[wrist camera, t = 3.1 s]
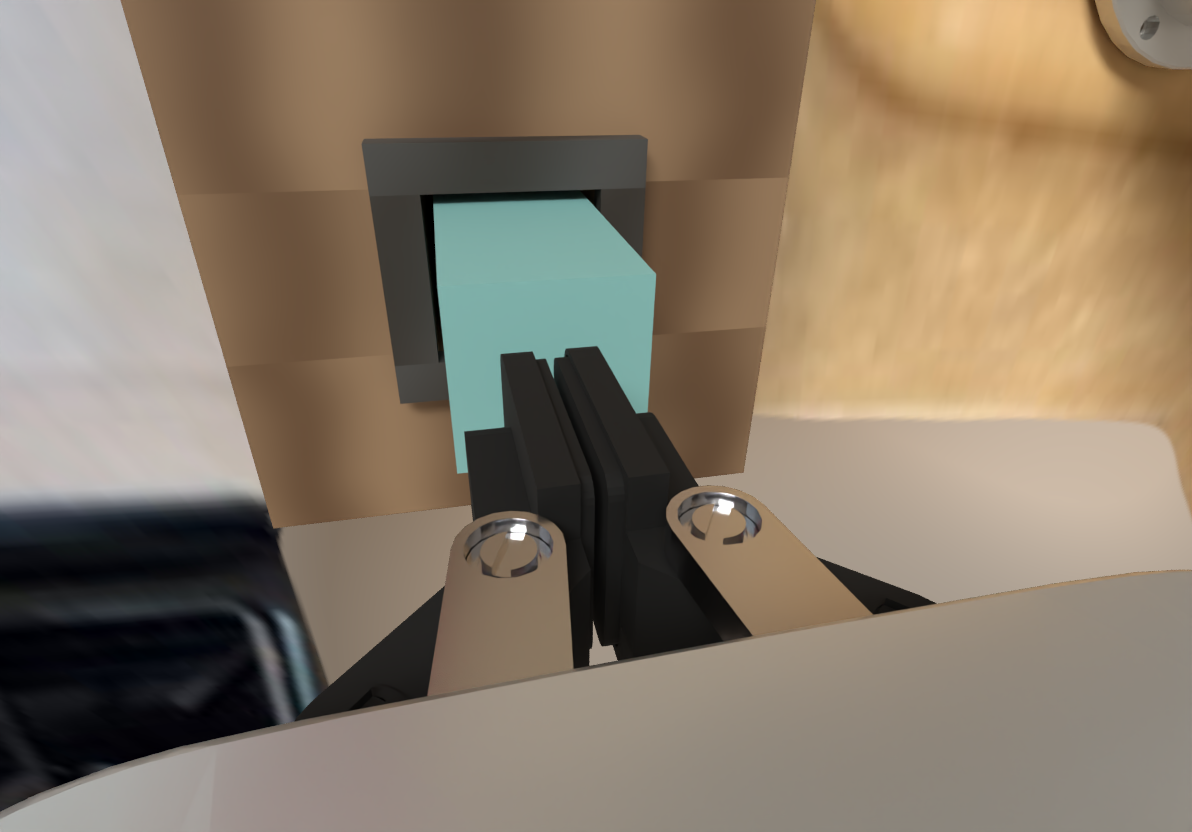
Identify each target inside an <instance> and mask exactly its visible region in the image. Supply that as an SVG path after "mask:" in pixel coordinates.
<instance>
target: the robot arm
mask: <svg viewBox="0 0 1192 832" xmlns="http://www.w3.org/2000/svg"><path fill="white" fill-rule="evenodd" d="M1095 3H1096V6H1097V10H1098V13H1099V17H1100V21H1101V23H1102V25H1103V26H1104V28H1105V30H1106V32H1107V33H1108V35H1109V37H1110V39H1111V41H1112V42H1113V43H1114V44H1115V45H1116V46H1117V47H1118V48H1119V49H1120V50H1121V51H1122V52H1123V53H1124V54H1125V55H1126V56H1127V57H1129V58H1131V59H1133V60H1135V61H1137V62H1139V63H1141V64H1143V65H1145V66H1150V67H1157V68H1164V69H1192V0H1095ZM500 366H501V382H502V398H503V414H504V427H502V428H492V429H483V430H473V431H464V437H465V447H466V458H467V468H468V478H469V488H470V497H471V506H472V515H473V522H472V523H470V524H468V525H467V526H465V527H464V528H463V529H462V530H461V532H460V533H459V534H458V535H457V536H456V537H455V540H454V542H453V545H452V547H451V551H450V558H449V563H448V570H447V576H446V583H445V586H444V587H443V588H442V589H441V590H439V591H438V592H437V593H436V594H435V595H434V596H432V597H431V598H430V599H429V600H428V601H427V602H426V603H424V604H423V605H422V606H421V607H420V608H419V609H418V610H416V611H415V612H414V613H413V614H412V615H411V616H409V617H408V618H407V619H406V620H405V621H404V622H403V623H401V624H400V625H399V626H398V627H397V628H396V629H395V630H393V631H392V632H391V633H390V634H389V635H388V636H387V637H385V638H384V639H383V640H382V641H381V642H380V643H379V644H377V645H376V646H375V647H374V648H373V649H372V650H370V651H369V652H368V653H367V654H366V655H365V656H364V657H362V658H361V659H360V660H359V661H358V662H357V663H356V664H354V665H353V666H352V667H351V668H350V669H349V670H347V671H346V672H345V673H344V674H343V675H342V676H341V677H339V678H338V679H337V680H336V681H335V682H334V683H332V684H331V685H330V686H329V687H328V688H327V689H326V690H324V691H323V692H322V693H321V694H320V695H319V696H318V697H316V698H315V699H314V700H313V701H312V702H311V703H310V704H309V705H308V706H307V707H306V708H305V709H304V711H303V712H302V713H301V714H300V715H299V716H298V717H297V718H296V720H295V722H291V723H286V724H282V725H277V726H273V727H268V728H264V729H259V730H255V731H250V732H246V733H241V734H237V735H232V736H228V737H223V738H218V739H214V740H209V741H205V742H200V743H196V744H191V745H187V746H182V747H178V748H174V749H171V750H167V751H164V752H160V753H157V754H154V755H150V756H147V757H143V758H140V759H136V760H133V761H129V762H126V763H122V764H119V765H115V766H112V767H109V768H106V769H104V770H101V771H98V772H96V773H93V774H90V775H88V776H85V777H82V778H80V779H77V780H74V781H71V782H69V783H66V784H63V785H61V786H58V787H55V788H53V789H50V790H47V791H45V792H42V793H39V794H37V795H35V796H33V797H30V798H28V799H26V800H24V801H22V802H20V803H18V804H16V805H14V806H11V807H9V808H7V809H5V810H3V811H1V812H0V832H1192V570H1167V571H1152V572H1151V571H1149V572H1133V573H1126V574H1119V575H1111V576H1105V577H1097V578H1090V579H1083V580H1075V581H1069V582H1061V583H1054V584H1048V585H1043V586H1037V587H1031V588H1025V589H1019V590H1014V591H1008V592H1002V593H996V594H990V595H985V596H979V597H973V598H967V599H962V600H956V601H950V602H944V603H938V604H936V603H935V602H932V601H930V600H928V599H926V598H924V597H922V596H920V595H918V594H915V593H912V592H910V591H907V590H904V589H901V588H898V587H896V586H893V585H891V584H888V583H885V582H883V581H880V580H877V579H874V578H872V577H869V576H866V575H863V574H861V573H858V572H856V571H853V570H850V569H847V568H845V567H842V566H839V565H837V564H834V563H831V562H829V561H826V560H823V559H820V558H818V557H815V556H814V555H813V554H812V552H811V551H810V550H809V549H807V547H806V546H805V545H804V544H803V543H801V541H800V540H799V539H798V538H797V537H796V536H795V535H794V534H793V533H792V532H791V531H790V530H789V529H788V528H787V527H786V526H785V525H784V524H783V523H782V522H781V521H780V520H779V519H778V518H777V517H776V516H775V515H774V514H773V513H772V512H771V511H770V510H769V509H768V508H767V507H766V506H765V505H764V504H762V503H761V502H760V501H758V500H757V499H756V498H755V497H753V496H751V495H749V494H746V493H744V492H742V491H740V490H737V489H732V488H729V487H725V486H711V485H707V486H698V484H697V483H696V481H695V480H694V478H693V476H692V475H691V473H690V471H689V470H688V468H687V466H686V465H685V463H684V462H683V460H682V458H681V457H680V455H679V453H678V452H677V450H676V449H675V447H674V445H673V444H672V442H671V440H670V439H669V437H668V436H667V434H666V432H665V431H664V429H663V427H662V426H661V424H660V423H659V421H658V419H657V418H656V416H655V415H654V414H653V413H651V412H646V413H636V412H635V411H634V409H633V407H632V405H631V404H630V402H629V400H628V398H627V397H626V395H625V393H624V391H623V390H622V388H621V386H620V384H619V382H618V381H617V379H616V377H615V375H614V374H613V372H612V370H611V368H610V367H609V365H608V363H607V361H606V360H605V358H604V356H603V354H602V353H601V351H600V349H599V348H598V347H597V346H591V347H579V348H567V349H566V350H565V354H564V357H558V358H555V359H554V378H553V376H552V373H551V370H550V368H549V365H548V363H547V360H546V359H535V356H534V353H533V351H530V352H518V353H506V354H501V355H500ZM593 622H594V625H595V628H596V632H597V635H598V638H599V641H600V644H601V646H609V645H613V647H614V650H615V654H616V657H617V660H618V661H614V662H608V663H603V664H598V665H593V666H589V649H591V648H592V642H593Z"/></svg>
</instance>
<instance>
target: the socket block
mask: <svg viewBox="0 0 1192 832" xmlns="http://www.w3.org/2000/svg"><path fill="white" fill-rule="evenodd" d="M121 3H122V7H123V10H124V14H125V17H126V20H127V24H128V27H129V31H130V34H131V38H132V41H133V45H134V48H135V52H136V55H137V58H138V62H139V65H140V69H141V72H142V76H143V79H144V83H145V86H146V90H147V93H148V96H149V100H150V103H151V107H152V110H153V114H154V117H155V121H156V124H157V128H158V131H159V134H160V138H161V141H162V145H163V148H164V152H165V155H166V159H167V162H168V166H169V169H170V172H171V176H172V179H173V183H174V186H175V190H176V193H177V197H178V200H179V204H180V207H181V210H182V214H183V217H184V221H185V224H186V228H187V231H188V235H189V238H190V242H191V245H192V248H193V252H194V255H195V259H196V262H197V266H198V269H199V273H200V276H201V280H202V283H203V287H204V290H205V293H206V297H207V300H208V304H209V307H210V311H211V314H212V318H213V321H214V325H215V328H216V331H217V335H218V338H219V342H220V345H221V349H222V352H223V356H224V359H225V363H226V366H227V369H228V373H229V376H230V380H231V383H232V387H233V390H234V394H235V397H236V401H237V404H238V407H239V411H240V414H241V418H242V421H243V425H244V428H245V432H246V435H247V439H248V442H249V445H250V449H251V452H252V456H253V459H254V463H255V466H256V470H257V473H258V477H259V480H260V483H261V487H262V490H263V494H264V497H265V501H266V504H267V508H268V511H269V515H270V518H271V521H272V525H273V528H280V527H288V526H297V525H306V524H314V523H322V522H331V521H339V520H348V519H356V518H365V517H373V516H381V515H390V514H398V513H407V512H415V511H423V510H432V509H440V508H448V507H457V506H465V505H471V497H470V488H469V478H468V473H459V474H457V466H456V457H455V447H454V438H453V429H452V420H451V410H450V401H449V392H448V382H447V373H446V364H445V354H444V345H443V336H442V326H441V317H440V308H439V298H438V289H437V271H436V259H434V249H433V240H432V231H431V221H430V212H429V203H428V195H429V194H462V193H495V192H527V191H560V190H580V191H581V192H582V193H583V195H584V196H585V197H586V198H587V199H588V200H589V201H590V202H591V203H592V204H593V205H594V207H595V208H596V209H597V210H598V211H599V212H600V213H601V214H602V215H603V216H604V218H605V219H606V220H607V221H608V222H609V223H610V224H611V225H612V226H613V227H614V228H615V230H616V231H617V232H618V233H619V234H620V235H621V236H622V237H623V238H624V239H625V240H626V242H627V243H628V244H629V245H630V246H631V247H632V248H633V249H634V250H635V251H636V253H637V254H638V255H639V256H640V257H641V258H642V259H643V260H644V261H645V262H646V263H647V265H648V266H649V267H650V268H651V269H652V270H653V271H654V272H655V273H656V285H655V301H654V317H653V333H652V349H651V365H650V381H649V397H648V412H651V413H653V414H654V415H655V416H656V418H657V419H658V421H659V423H660V424H661V426H662V427H663V429H664V431H665V432H666V434H667V436H668V437H669V439H670V440H671V442H672V444H673V445H674V447H675V449H676V450H677V452H678V453H679V455H680V457H681V458H682V460H683V462H684V463H685V465H686V466H687V468H688V470H689V471H690V473H691V475H692V476H693V478H701V477H710V476H718V475H727V474H735V473H743V472H744V466H745V460H746V453H747V446H748V440H749V433H750V427H751V420H752V414H753V407H754V401H755V394H756V388H757V381H758V375H759V368H760V362H761V355H762V349H763V342H764V336H765V329H766V323H767V316H768V310H769V303H770V297H771V290H772V284H773V277H774V271H775V264H776V258H777V251H778V245H779V238H780V232H781V225H782V218H783V212H784V205H785V199H786V192H787V186H788V179H789V173H790V166H791V160H792V153H793V147H794V140H795V134H796V127H797V121H798V114H799V108H800V101H801V95H802V88H803V82H804V75H805V69H806V62H807V56H808V49H809V43H810V36H811V30H812V23H813V17H814V10H815V4H816V0H121Z"/></svg>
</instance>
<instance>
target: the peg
mask: <svg viewBox="0 0 1192 832" xmlns="http://www.w3.org/2000/svg"><path fill="white" fill-rule="evenodd" d="M433 207H434V228H435V250H436V271H437V289H438V298H439V308H440V317H441V326H442V336H443V345H444V354H445V364H446V373H447V382H448V392H449V401H450V410H451V420H452V429H453V438H454V447H455V457H456V466H457V474H459V473H468V468H467V458H466V447H465V437H464V431H473V430H483V429H492V428H502V427H504V414H503V398H502V382H501V366H500V355H501V354H506V353H518V352H530V351H533V353H534V356H535V359H546V360H547V363H548V365H549V368H550V370H551V373H552V376H553V378H554V359H555V358H558V357H564V354H565V350H566V349H567V348H579V347H591V346H597V347H598V348H599V349H600V351H601V353H602V354H603V356H604V358H605V360H606V361H607V363H608V365H609V367H610V368H611V370H612V372H613V374H614V375H615V377H616V379H617V381H618V382H619V384H620V386H621V388H622V390H623V391H624V393H625V395H626V397H627V398H628V400H629V402H630V404H631V405H632V407H633V409H634V411H635V412H636V413H646V412H648V397H649V381H650V365H651V349H652V333H653V317H654V301H655V285H656V273H655V272H654V271H653V270H652V269H651V268H650V267H649V266H648V265H647V263H646V262H645V261H644V260H643V259H642V258H641V257H640V256H639V255H638V254H637V253H636V251H635V250H634V249H633V248H632V247H631V246H630V245H629V244H628V243H627V242H626V240H625V239H624V238H623V237H622V236H621V235H620V234H619V233H618V232H617V231H616V230H615V228H614V227H613V226H612V225H611V224H610V223H609V222H608V221H607V220H606V219H605V218H604V216H603V215H602V214H601V213H600V212H599V211H598V210H597V209H596V208H595V207H594V205H593V204H592V203H591V202H590V201H589V200H588V199H587V198H586V197H585V196H584V195H583V193H582V192H581V191H580V190H560V191H527V192H495V193H462V194H433Z"/></svg>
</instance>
